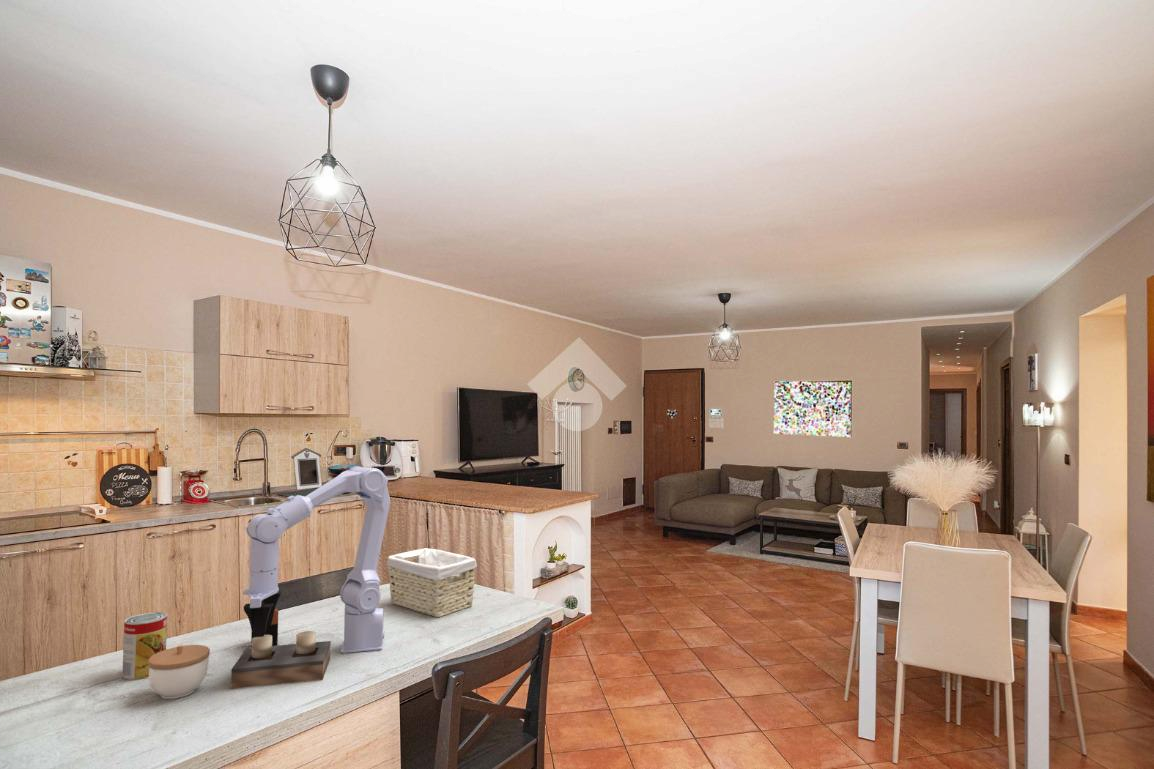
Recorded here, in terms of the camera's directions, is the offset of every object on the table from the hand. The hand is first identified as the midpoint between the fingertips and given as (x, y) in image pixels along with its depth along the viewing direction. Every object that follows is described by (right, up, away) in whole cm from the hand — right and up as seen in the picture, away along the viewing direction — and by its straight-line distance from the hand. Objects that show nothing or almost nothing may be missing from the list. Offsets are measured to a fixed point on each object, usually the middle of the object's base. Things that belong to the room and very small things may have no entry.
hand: (262, 631), depth 136 cm
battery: (-8, -11, +17) cm, 22 cm away
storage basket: (+26, -12, +49) cm, 56 cm away
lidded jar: (-13, -9, -9) cm, 18 cm away
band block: (+4, -9, +1) cm, 10 cm away
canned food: (-27, -10, +1) cm, 28 cm away
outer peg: (0, -5, 0) cm, 5 cm away
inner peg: (+9, -6, +2) cm, 10 cm away
